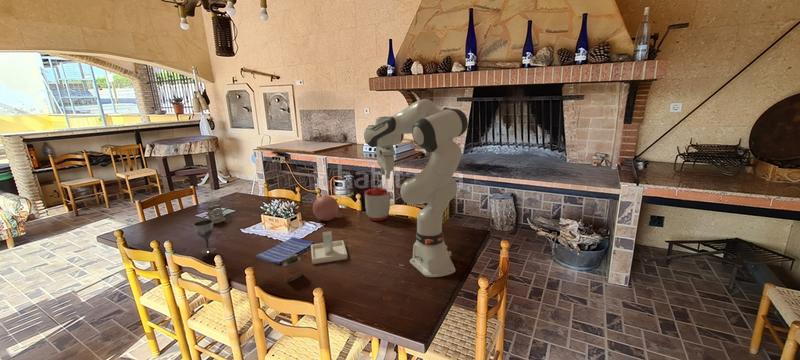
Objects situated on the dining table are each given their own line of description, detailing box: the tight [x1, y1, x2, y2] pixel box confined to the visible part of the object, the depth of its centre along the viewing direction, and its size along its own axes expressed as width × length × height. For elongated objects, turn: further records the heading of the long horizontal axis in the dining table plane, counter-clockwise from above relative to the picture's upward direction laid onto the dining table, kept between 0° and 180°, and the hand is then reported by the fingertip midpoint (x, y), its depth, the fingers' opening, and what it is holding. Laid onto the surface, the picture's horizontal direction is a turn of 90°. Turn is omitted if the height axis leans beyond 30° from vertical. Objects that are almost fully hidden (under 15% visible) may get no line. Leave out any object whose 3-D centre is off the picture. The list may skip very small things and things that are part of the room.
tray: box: [310, 239, 348, 265], centre depth 162 cm, size 16×16×2 cm
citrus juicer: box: [363, 186, 393, 222], centre depth 205 cm, size 16×17×20 cm
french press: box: [204, 181, 227, 224], centre depth 207 cm, size 10×12×25 cm
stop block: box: [322, 230, 333, 255], centre depth 161 cm, size 4×4×10 cm
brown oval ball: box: [312, 195, 340, 222], centre depth 206 cm, size 15×20×15 cm
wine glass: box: [193, 219, 217, 255], centre depth 167 cm, size 8×8×15 cm
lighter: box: [282, 254, 303, 283], centre depth 141 cm, size 8×3×10 cm, turn 141°
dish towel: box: [254, 236, 315, 266], centre depth 166 cm, size 17×24×3 cm
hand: (385, 176), depth 170 cm, fingers open, 8 cm apart
